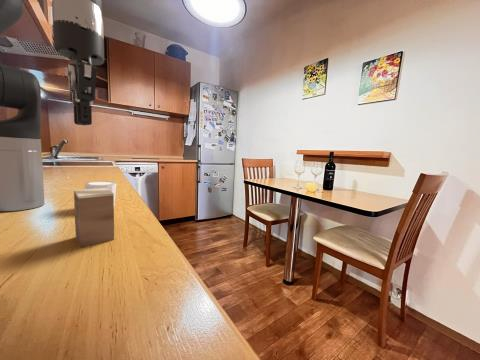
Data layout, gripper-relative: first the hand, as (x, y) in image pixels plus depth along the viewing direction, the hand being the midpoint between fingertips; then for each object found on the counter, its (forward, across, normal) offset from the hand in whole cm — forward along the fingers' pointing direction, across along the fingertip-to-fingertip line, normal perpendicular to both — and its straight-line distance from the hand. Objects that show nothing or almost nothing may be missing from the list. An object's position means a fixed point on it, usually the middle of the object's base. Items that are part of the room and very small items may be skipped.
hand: (82, 124), depth 40 cm
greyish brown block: (+21, +8, 0) cm, 23 cm away
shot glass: (+21, -11, +5) cm, 24 cm away
